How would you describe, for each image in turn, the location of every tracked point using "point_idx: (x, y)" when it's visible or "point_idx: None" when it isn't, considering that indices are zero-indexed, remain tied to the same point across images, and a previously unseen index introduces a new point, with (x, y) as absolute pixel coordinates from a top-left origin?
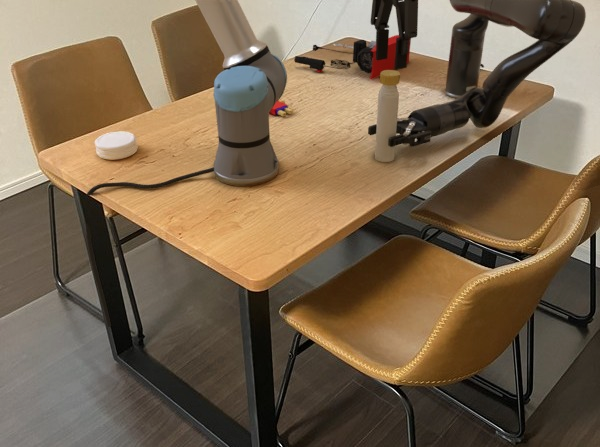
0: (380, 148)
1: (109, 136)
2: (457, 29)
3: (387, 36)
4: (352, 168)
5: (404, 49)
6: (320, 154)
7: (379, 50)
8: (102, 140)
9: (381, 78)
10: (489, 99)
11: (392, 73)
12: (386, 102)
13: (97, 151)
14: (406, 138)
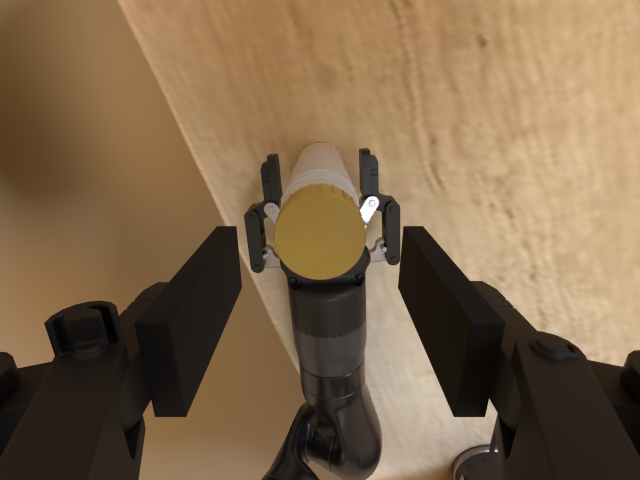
0: (308, 148)
1: None
2: None
3: (436, 364)
4: (310, 60)
5: (132, 309)
6: (423, 24)
7: (417, 259)
8: None
9: (322, 187)
10: (283, 456)
11: (308, 244)
12: (293, 177)
13: None
14: (261, 203)
